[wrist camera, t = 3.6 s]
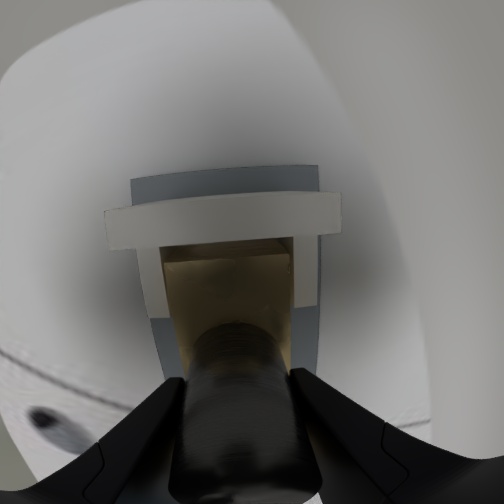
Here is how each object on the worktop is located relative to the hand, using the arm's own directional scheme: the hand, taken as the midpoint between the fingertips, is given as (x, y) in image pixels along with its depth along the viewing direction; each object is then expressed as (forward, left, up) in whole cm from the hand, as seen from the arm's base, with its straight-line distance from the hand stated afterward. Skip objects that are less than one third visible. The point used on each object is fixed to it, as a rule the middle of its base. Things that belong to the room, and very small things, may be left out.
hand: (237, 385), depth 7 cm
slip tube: (-3, 0, -5) cm, 6 cm away
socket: (+3, 0, -8) cm, 8 cm away
